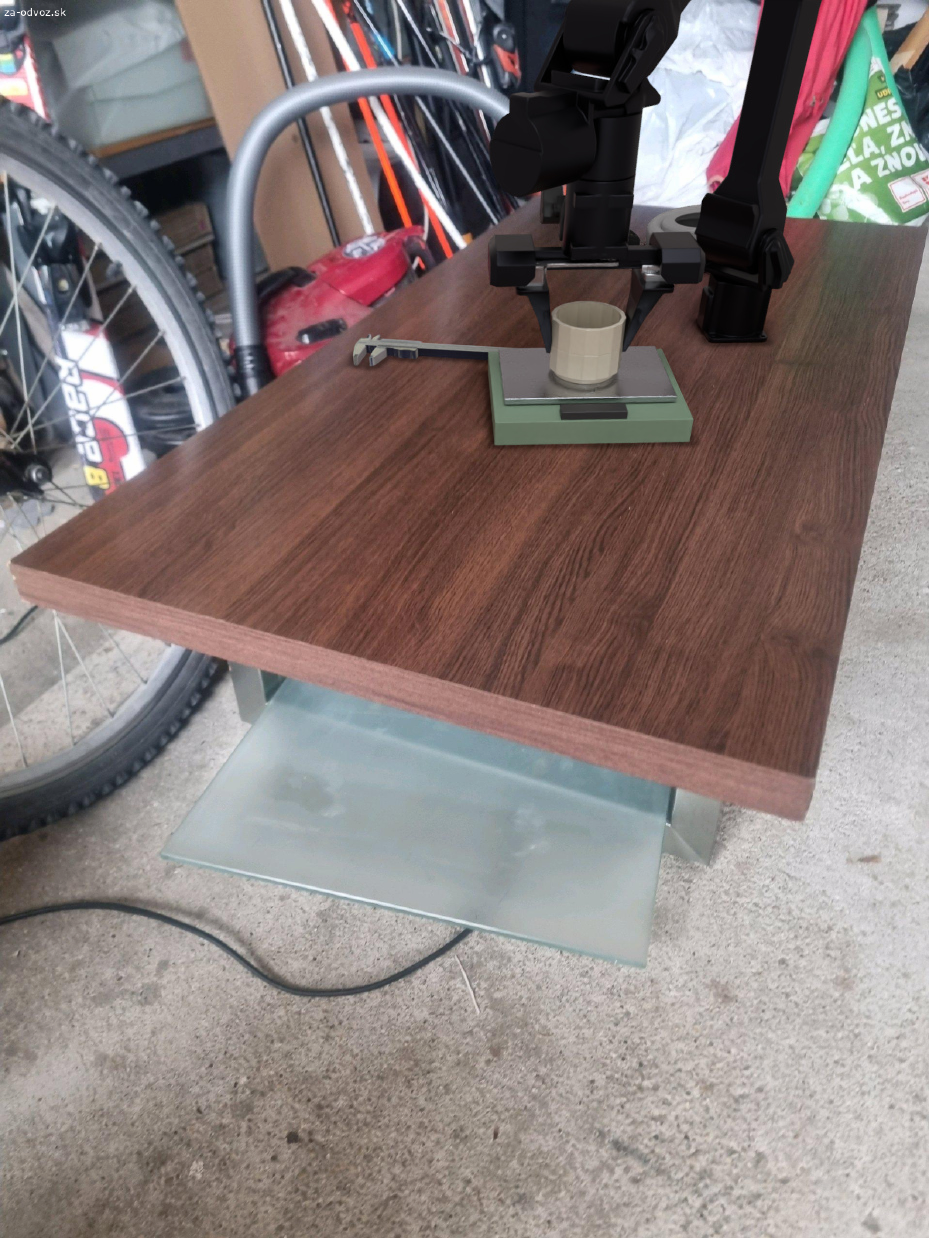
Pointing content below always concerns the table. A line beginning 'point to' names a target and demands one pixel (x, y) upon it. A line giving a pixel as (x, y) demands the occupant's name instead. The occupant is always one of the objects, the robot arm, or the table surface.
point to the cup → (586, 341)
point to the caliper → (415, 350)
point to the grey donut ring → (675, 221)
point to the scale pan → (539, 384)
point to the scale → (587, 418)
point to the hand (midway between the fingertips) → (585, 350)
